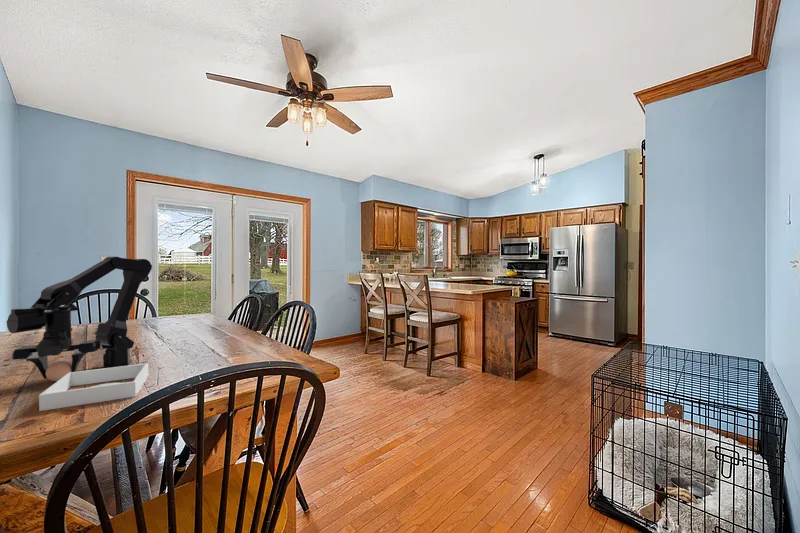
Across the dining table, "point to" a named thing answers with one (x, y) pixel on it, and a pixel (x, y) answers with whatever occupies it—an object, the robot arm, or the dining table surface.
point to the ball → (58, 370)
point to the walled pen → (98, 393)
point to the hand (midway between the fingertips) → (59, 376)
